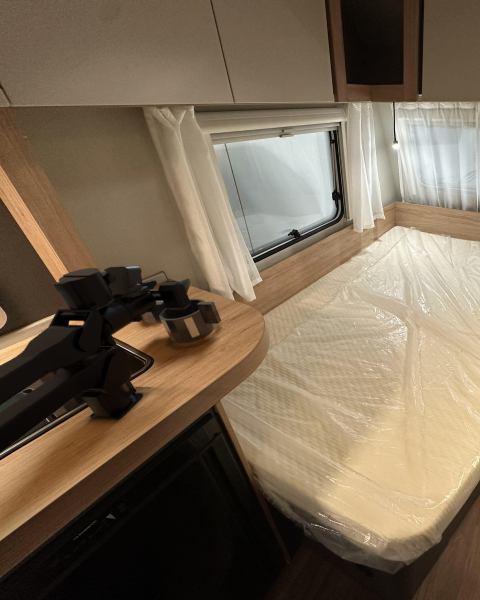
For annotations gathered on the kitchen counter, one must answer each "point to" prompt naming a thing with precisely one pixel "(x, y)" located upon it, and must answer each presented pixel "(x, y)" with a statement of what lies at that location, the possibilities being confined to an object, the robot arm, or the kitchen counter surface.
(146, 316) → the fossilized seashell
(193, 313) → the pot
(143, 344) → the kitchen counter surface
